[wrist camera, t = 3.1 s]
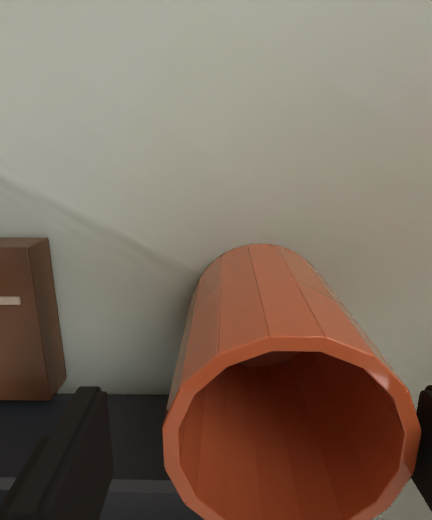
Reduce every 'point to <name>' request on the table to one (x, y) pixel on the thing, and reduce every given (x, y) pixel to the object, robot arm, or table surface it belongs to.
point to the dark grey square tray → (123, 447)
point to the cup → (283, 399)
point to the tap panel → (28, 322)
